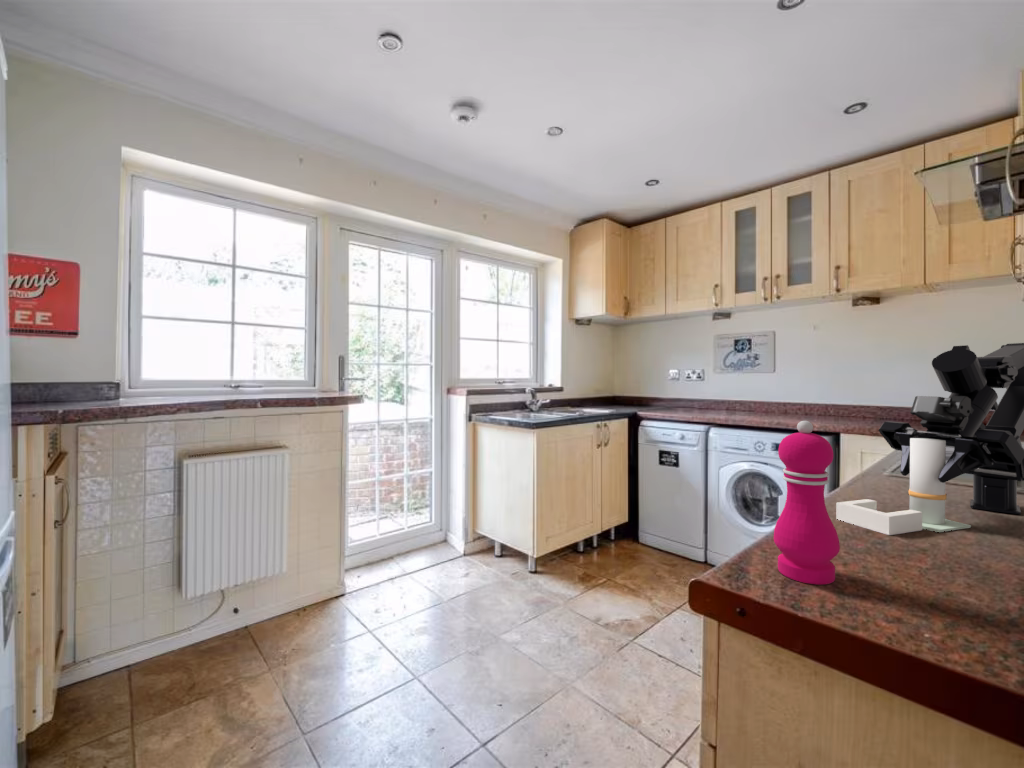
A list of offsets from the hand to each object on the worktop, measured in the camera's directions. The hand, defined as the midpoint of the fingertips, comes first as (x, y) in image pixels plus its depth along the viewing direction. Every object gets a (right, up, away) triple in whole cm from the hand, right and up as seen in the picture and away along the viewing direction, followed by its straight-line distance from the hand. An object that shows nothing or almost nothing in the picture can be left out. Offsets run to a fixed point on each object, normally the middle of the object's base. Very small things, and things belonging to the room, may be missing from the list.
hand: (920, 477), depth 79 cm
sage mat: (+1, -8, 0) cm, 8 cm away
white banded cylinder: (+1, -8, 0) cm, 8 cm away
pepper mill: (-32, -9, -20) cm, 39 cm away
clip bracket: (-7, -8, 0) cm, 11 cm away
